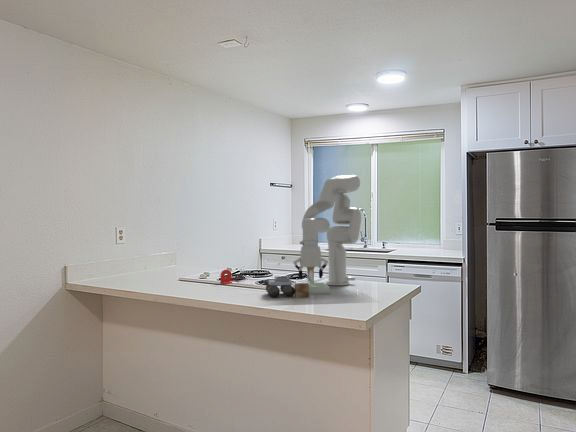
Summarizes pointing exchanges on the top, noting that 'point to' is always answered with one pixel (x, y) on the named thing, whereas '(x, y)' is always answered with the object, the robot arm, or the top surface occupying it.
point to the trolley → (285, 287)
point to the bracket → (226, 280)
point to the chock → (301, 290)
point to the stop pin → (310, 276)
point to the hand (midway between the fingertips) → (310, 278)
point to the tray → (318, 288)
